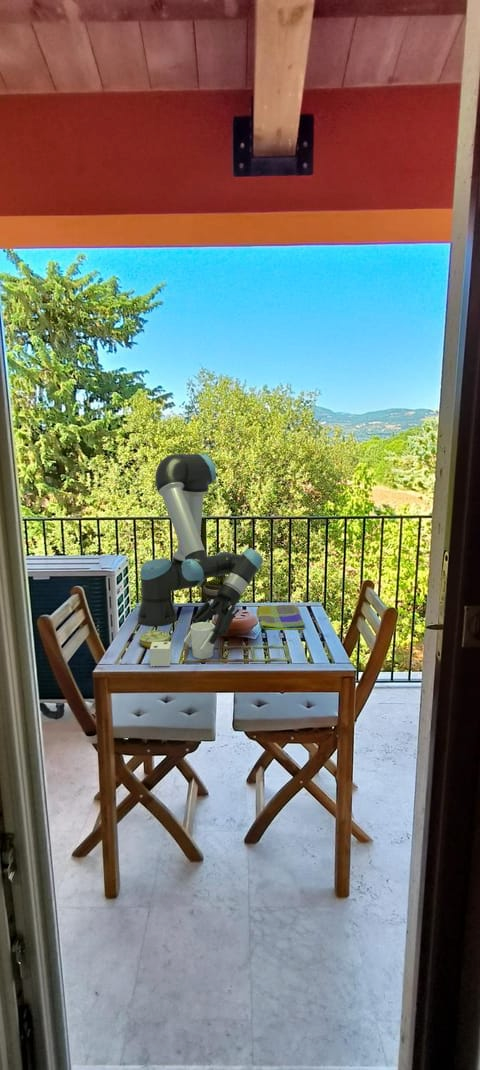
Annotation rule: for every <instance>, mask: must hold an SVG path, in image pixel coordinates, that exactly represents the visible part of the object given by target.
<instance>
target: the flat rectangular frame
mask: <svg viewBox="0 0 480 1070" xmlns="http://www.w3.org/2000/svg"><path fill="white" fill-rule="evenodd" d="M237 649H238V650H244V649H247V650H248V649H249V650H250V651H251V658H227V659H226V658H222V650H237ZM257 649H258V650H259V649H261V650H263V649H283V651H284V654H285V657H286V658H285V657H282V658H277V657H276V658H257V657H256V652H255V650H257ZM190 650H192V646H185V650H184V654H183V655H184V656H183V660H182V661H183V663H184V664H194V663H196V664H197V663H198V664H199V663H200V664H201V663H203V664H205V663H210V664H211V663H262V662H263V663H264V662H265V663H266V662H268V663H271V662H272V663H275V662H276V663H277V662H279V663H281V662H291V656H290V654H289V651H288V648H287V645H286V644H285V645H284V644H283V645H236V646H235V645H226V646H225V645H222V646H221V645H218V646H215V645H214V650H217V651H218V652H217V655H218V656H217V658H218V659H213V658H212V659H210V658H207V659H188V656H189V651H190Z"/></svg>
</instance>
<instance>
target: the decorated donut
mask: <svg viewBox="0 0 480 1070" xmlns="http://www.w3.org/2000/svg"><path fill="white" fill-rule="evenodd" d="M138 638H139V639H138V640H139V643H140V645H141V646H142V647H143V648H148V649H150V647H151V644H152V642H170V640H171V635H170V633H168V632H166V631H163V630H155V629H154V630H147V631H145V632H143V633H142V634H140V635H139V637H138Z"/></svg>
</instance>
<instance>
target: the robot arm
mask: <svg viewBox="0 0 480 1070" xmlns="http://www.w3.org/2000/svg"><path fill="white" fill-rule="evenodd" d="M216 472H217V469H216V465H215V464H214V462H213V460H212V458H211V457H210V456H209V455H207V454H203V453H187V454H184V453H183V454H178V453H177V454H176V453H175V454H170V455H167V456H166V457H164V458H163V459H161V461H160V462H159V464H158V465H157V468H156V470H155V476H154V477H155V486H156V490H157V493H158V495H159V496H161V497H162V499H163V502H164V505H165V507H166V509H167V513H168V516H169V517H170V521H171V524H172V527H173V531H174V532H175V535H176V537H177V550H176V551H174V553H173V555H172V561H171V559H169V558H154V559H150V560H147V561H146V562H144V563H142V565H141V567H140V581H141V582H140V584H141V586H140V589H141V603H140V606H139V609H138V613H137V622H138V623H140V624H141V625H144V626H150V627H151V626H152V627H157V626H166V625H169V624H168V623H170V624H172V622H173V623H174V622H176V621H177V619H178V614H177V610H176V608H175V605H174V601H173V593H172V592H175V591H181V590H185V589H193V588H196V587H199V586H201V585H202V584H203V583H204V582H205V581H206V580H207V579H212V578H214V577H217V576H222V575H226V577H227V578H226V579H225V581H224V584H223V585H222V586H221V587H220V589H219V590H218V592H217V597H216V598H215V599H214V600H212V599H210V598H207V597H206V600H205V602H204V604H203V605H201V607H200V608H199V610H198V611H197V612H196V613H195V614H194V616H193V617H191V619H190V621H191V622H192V624H194V623H199V622H208V620H209V619H210V618H212V617H213V616H216V615H217V619H216V621H215V624H214V625H215V629H214V630H213V632H214V633H213V632H212V631H211V633H210V634H209V636H208V638H207V639H206V641H205V642H204V644H203V645H202V647H201V648H200V649H201V650H202V651H204V652H205V653H206V654H207V652H208V650H209V649H210V647H211V646H212V644H214V645H215V643H216V642H217V640H218V638H219V637H221V636H222V637H225V636H226V635H227V633H228V631H229V628H230V627H231V624H232V622H233V620H234V617H235V616H236V615H237V613H238V612H239V610H238V609H237V608H236V605H237V603H238V602H239V601H240V598H241V597H242V595H243V594H244V592H245V591H246V589H247V588H248V586H249V585H250V583H251V582H252V581H253V579H254V577H255V576H256V574H257V573H258V571H259V570H260V568H261V566H262V564H263V562H264V558H263V556H262V555H261V554H260V553H259V552H257V551H256V550H255V549H252V548H246V549H245V550H243V552H242V554H237V553H233V552H232V553H231V552H229V551H219V552H217V553H216V554H215V555H214V554H213V555H207V552H206V549H205V547H204V544H203V542H202V538H201V531H202V519H203V507H204V498H205V497H204V496H205V494H206V493H208V491H209V486H210V485H212V484H213V483H214V482H215V480H216V476H217V473H216ZM233 605H235V607H234V606H233ZM212 609H213V610H212ZM165 624H166V625H165ZM183 642H184V643H185V644H187V645H188V647H191V645H192V642H191V628H190V629H189V631H188V632H187V635H186V636H185V637H184V639H183Z"/></svg>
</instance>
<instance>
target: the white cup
mask: <svg viewBox="0 0 480 1070" xmlns="http://www.w3.org/2000/svg"><path fill="white" fill-rule="evenodd" d="M215 625H216V624H214V623H212V622H209V621H206V622H199V623H194V624H193V623H192V624H191V625H190V629H191V642H192V643H191V647H192V649H191V651H192V656H193V658H194V659H195V658H196V660H207V659H210V658H212V657H213V656H214V651H215V649H214V646H215V643H214V644H212V646H211V647H210V649H209V650H208V652H207V654H206V653H205V652H204V651H202V650H201V649H200V648H201V647H202V645H203V644H204V642H205V641H206V639H207V638H208V636H209V634H210V633H211V631H212V632H213V630H214V629H215ZM213 633H214V632H213Z"/></svg>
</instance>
